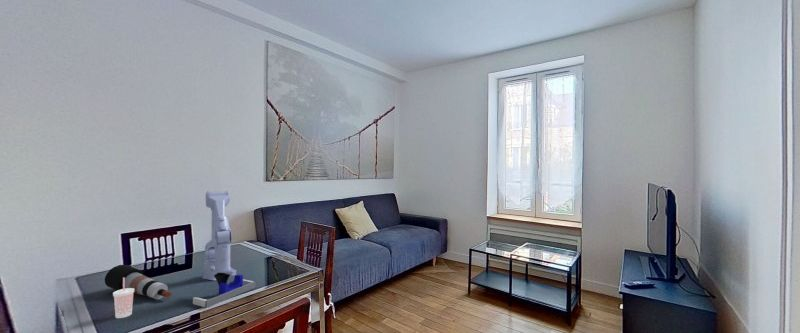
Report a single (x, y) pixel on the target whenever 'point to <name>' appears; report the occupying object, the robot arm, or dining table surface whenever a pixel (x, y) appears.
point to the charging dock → (225, 295)
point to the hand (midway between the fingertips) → (222, 289)
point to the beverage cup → (123, 301)
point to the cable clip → (231, 285)
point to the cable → (135, 282)
